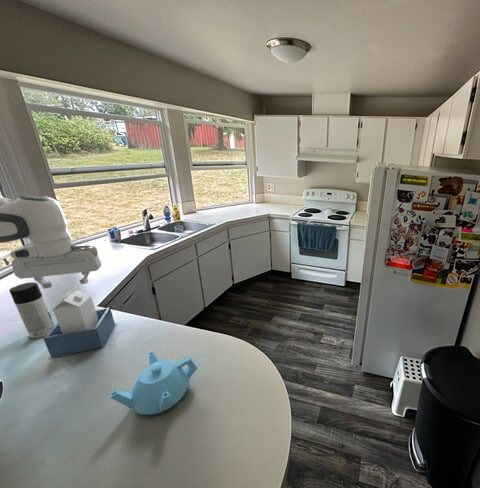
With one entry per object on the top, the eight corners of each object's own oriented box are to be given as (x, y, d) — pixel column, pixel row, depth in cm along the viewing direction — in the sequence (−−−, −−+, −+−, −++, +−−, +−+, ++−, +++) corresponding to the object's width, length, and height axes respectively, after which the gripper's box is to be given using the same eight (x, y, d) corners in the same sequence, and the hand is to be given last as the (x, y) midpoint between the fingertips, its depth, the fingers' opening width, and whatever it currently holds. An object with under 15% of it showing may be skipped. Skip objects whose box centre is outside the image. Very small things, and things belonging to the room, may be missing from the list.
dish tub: (51, 358, 83) (43, 338, 80) (70, 332, 95) (64, 314, 92) (102, 347, 88) (96, 328, 86) (115, 324, 100) (110, 307, 97)
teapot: (170, 425, 64) (163, 394, 61) (114, 420, 65) (104, 389, 61) (201, 376, 79) (197, 348, 75) (155, 372, 79) (149, 345, 76)
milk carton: (66, 345, 87) (48, 298, 81) (79, 332, 94) (63, 288, 87) (91, 342, 89) (75, 296, 83) (102, 329, 95) (88, 286, 89)
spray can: (60, 329, 96) (42, 283, 90) (37, 340, 90) (16, 292, 84) (48, 325, 98) (29, 280, 91) (24, 337, 92) (3, 289, 85)
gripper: (98, 241, 86) (108, 276, 91) (16, 246, 78) (31, 285, 83) (91, 247, 81) (102, 284, 85) (1, 253, 73) (18, 295, 77)
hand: (66, 285), depth 84 cm, fingers open, 8 cm apart
